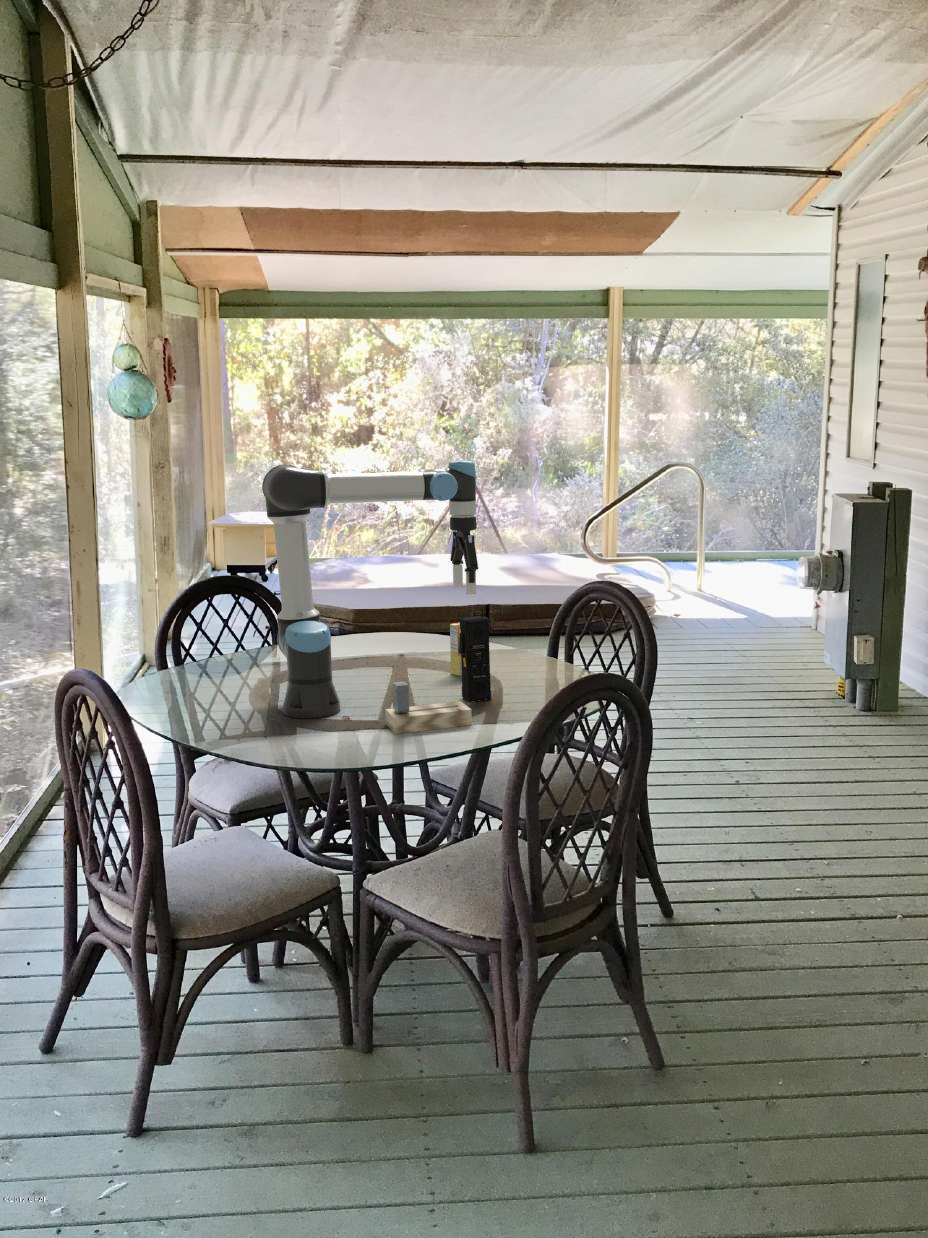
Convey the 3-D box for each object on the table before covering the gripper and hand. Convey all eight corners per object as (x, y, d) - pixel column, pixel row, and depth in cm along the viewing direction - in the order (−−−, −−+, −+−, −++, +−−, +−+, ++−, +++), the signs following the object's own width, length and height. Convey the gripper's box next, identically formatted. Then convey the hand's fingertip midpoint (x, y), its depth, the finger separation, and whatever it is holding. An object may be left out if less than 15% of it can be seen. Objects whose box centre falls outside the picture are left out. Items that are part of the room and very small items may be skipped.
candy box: (473, 669, 351) (471, 619, 348) (482, 671, 348) (480, 621, 345) (450, 674, 345) (449, 623, 343) (459, 676, 342) (457, 625, 339)
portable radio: (466, 703, 311) (463, 612, 306) (457, 698, 316) (455, 609, 312) (492, 700, 314) (490, 609, 309) (483, 695, 319) (481, 606, 315)
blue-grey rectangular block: (397, 713, 286) (396, 686, 285) (393, 709, 290) (392, 682, 289) (409, 712, 287) (408, 684, 286) (405, 708, 291) (404, 681, 290)
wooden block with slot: (395, 733, 284) (394, 717, 284) (386, 724, 293) (385, 708, 292) (471, 724, 291) (471, 708, 290) (460, 716, 299) (460, 700, 298)
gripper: (488, 519, 313) (489, 596, 317) (463, 511, 337) (465, 583, 341) (462, 520, 311) (463, 598, 315) (439, 512, 335) (440, 584, 339)
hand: (464, 590), depth 328 cm, fingers open, 13 cm apart
